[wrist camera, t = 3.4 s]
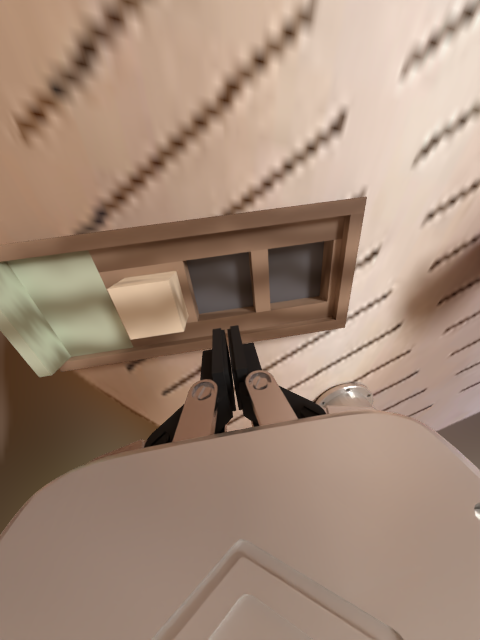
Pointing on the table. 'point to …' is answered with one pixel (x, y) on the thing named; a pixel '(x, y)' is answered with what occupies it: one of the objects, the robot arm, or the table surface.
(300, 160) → the table surface
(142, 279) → the maple block
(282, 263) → the tray
